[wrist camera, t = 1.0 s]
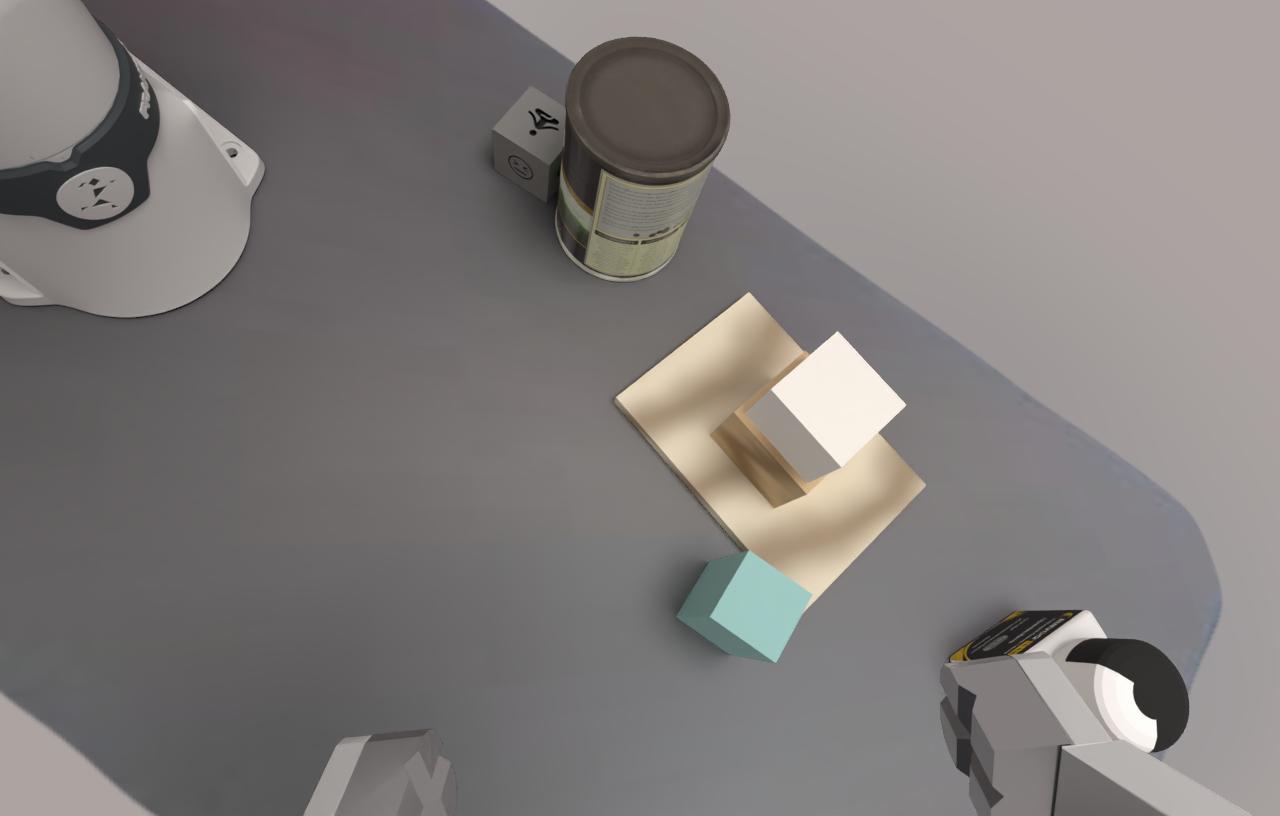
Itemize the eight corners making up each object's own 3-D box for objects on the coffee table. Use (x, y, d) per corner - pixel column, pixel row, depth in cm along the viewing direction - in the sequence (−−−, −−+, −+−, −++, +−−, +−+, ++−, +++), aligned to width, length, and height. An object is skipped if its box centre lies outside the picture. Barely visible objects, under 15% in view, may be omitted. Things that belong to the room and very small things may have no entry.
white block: (744, 413, 45) (770, 389, 40) (805, 360, 47) (837, 331, 42) (806, 483, 44) (841, 467, 39) (866, 426, 46) (906, 404, 41)
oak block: (709, 435, 50) (733, 412, 45) (774, 379, 52) (805, 350, 47) (774, 508, 50) (807, 494, 44) (837, 448, 52) (876, 428, 46)
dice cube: (580, 162, 57) (586, 120, 52) (546, 204, 55) (549, 165, 50) (529, 129, 57) (530, 85, 52) (494, 170, 55) (492, 128, 50)
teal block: (675, 616, 47) (709, 616, 39) (709, 561, 49) (749, 550, 40) (729, 654, 47) (775, 663, 39) (761, 598, 49) (812, 594, 40)
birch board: (613, 402, 51) (615, 397, 50) (744, 298, 55) (748, 292, 54) (796, 613, 49) (803, 612, 48) (917, 488, 53) (926, 485, 52)
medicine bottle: (1016, 609, 52) (1156, 606, 40) (1071, 698, 50) (1231, 721, 39) (946, 657, 50) (1072, 669, 38) (1001, 752, 48) (1148, 793, 37)
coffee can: (528, 234, 54) (531, 109, 41) (601, 149, 57) (627, 8, 44) (636, 308, 54) (674, 206, 40) (704, 218, 57) (760, 97, 44)
